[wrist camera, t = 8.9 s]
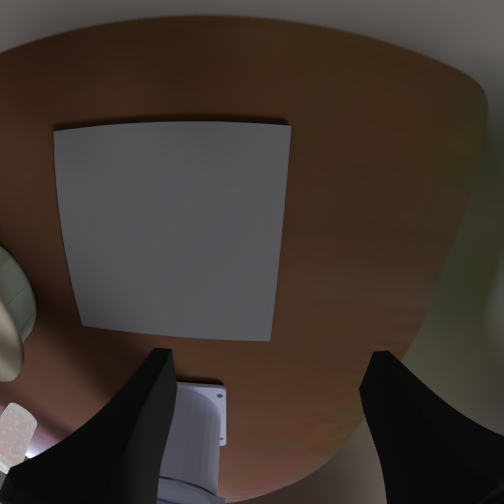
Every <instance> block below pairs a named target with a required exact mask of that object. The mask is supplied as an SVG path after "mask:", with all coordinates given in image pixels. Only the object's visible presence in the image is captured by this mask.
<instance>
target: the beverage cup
mask: <svg viewBox="0 0 504 504" xmlns="http://www.w3.org/2000/svg"><path fill="white" fill-rule="evenodd" d="M36 425H37V421H36V420H35V418H34V417H33V416H32V415H31V414H30V413H29V412H28V411H27V410H25V409H24V408H23V407H21V406H19V405H17V404H15V403H10V404H9V405H8V406H7V408H6V409H5V411H4V412H3V414H2V415H1V417H0V470H1V471H2V472H4V473H6V474H7V473H8V471H9V469H10V467H12V466H15V465H17V464H19V463H22V462H23V460H24V457H25V454H26V452H27V449H28V446H29V443H30V441H31V438H32V436H33V433H34V430H35V428H36Z"/></svg>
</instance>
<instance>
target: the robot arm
mask: <svg viewBox="0 0 504 504" xmlns="http://www.w3.org/2000/svg"><path fill="white" fill-rule="evenodd" d="M359 391H360V396H361V402H362V406H363V411H364V414H365V417H366V420H367V423H368V426H369V429H370V432H371V435H372V438H373V441H374V444H375V447H376V450H377V453H378V456H379V459H380V463H381V467H382V472H383V478H384V483H385V491H386V499H387V504H504V436H502V435H500V434H497V433H495V432H493V431H491V430H489V429H486V428H485V427H483V426H481V425H479V424H478V423H476V422H474V421H472V420H471V419H469V418H467V417H466V416H464V415H463V414H461V413H460V412H459V411H457V410H456V409H454V408H453V407H451V406H450V405H449V404H447V403H446V402H445V401H443V400H442V399H441V398H440V397H439V396H437V395H436V394H435V393H434V392H433V391H432V390H430V389H429V388H428V387H427V386H426V385H425V384H424V383H422V382H421V381H420V380H419V379H418V378H417V377H416V376H415V375H414V374H413V373H412V372H411V371H410V370H409V369H408V368H406V367H405V366H404V365H403V364H402V363H401V362H400V361H399V360H398V359H397V358H396V357H395V356H394V355H392V354H391V353H390V352H389V351H376V352H373V355H372V358H371V360H370V363H369V365H368V368H367V370H366V373H365V375H364V378H363V380H362V383H361V385H360V388H359ZM223 445H226V388H225V387H224V386H222V385H212V384H197V383H185V382H176V376H175V369H174V362H173V354H172V349H164V348H154V349H153V350H152V351H151V352H150V354H149V355H148V356H147V358H146V359H145V360H144V362H143V363H142V364H141V365H140V367H139V368H138V369H137V370H136V372H135V373H134V374H133V375H132V377H131V378H130V379H129V380H128V381H127V382H126V384H125V385H124V386H123V387H122V388H121V389H120V390H119V392H118V393H117V394H116V395H115V396H114V397H113V398H112V399H111V400H110V401H109V402H108V403H107V404H106V405H105V406H104V407H103V408H102V409H101V410H100V411H99V412H98V413H97V414H96V415H94V416H93V417H92V418H91V419H90V420H89V421H87V422H86V423H85V424H84V425H83V426H81V427H80V428H79V429H77V430H76V431H75V432H73V433H72V434H71V435H69V436H68V437H67V438H65V439H64V440H62V441H61V442H59V443H57V444H56V445H54V446H52V447H51V448H49V449H47V450H46V451H44V452H42V453H40V454H39V455H37V456H35V457H32V458H30V459H28V460H26V461H24V462H22V463H19V464H17V465H15V466H12V467H10V469H9V471H8V473H7V475H6V477H5V480H4V482H3V485H2V487H1V490H0V502H1V503H2V504H225V498H221V497H217V489H218V468H219V448H220V446H223Z"/></svg>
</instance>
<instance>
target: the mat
mask: <svg viewBox="0 0 504 504" xmlns="http://www.w3.org/2000/svg"><path fill="white" fill-rule="evenodd" d="M290 134H291V126H286V125H274V124H260V123H241V122H205V121H183V122H148V123H130V124H116V125H104V126H94V127H84V128H76V129H68V130H61V131H54V157H55V174H56V186H57V196H58V205H59V213H60V221H61V228H62V235H63V241H64V247H65V252H66V258H67V263H68V268H69V273H70V277H71V282H72V286H73V291H74V295H75V299H76V303H77V307H78V311H79V315H80V318H81V322H82V325H83V326H88V327H95V328H102V329H109V330H117V331H126V332H134V333H144V334H154V335H164V336H176V337H189V338H204V339H221V340H245V341H270V337H271V329H272V320H273V312H274V303H275V294H276V285H277V276H278V266H279V257H280V247H281V237H282V226H283V216H284V205H285V194H286V183H287V171H288V159H289V147H290Z"/></svg>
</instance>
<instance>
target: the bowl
mask: <svg viewBox="0 0 504 504" xmlns="http://www.w3.org/2000/svg"><path fill="white" fill-rule="evenodd" d="M0 295H1V296H2V298H3V300H4V301H5V303H6V305H7V307H8V309H9V310H10V312H11V314H12V316H13V319H14V321H15V323H16V325H17V328H18V330H19V333H20V336H21V339H22V343H23V341H24V340H25V339H26V337H27V336H28V335H29V333H30V332H31V331H32V329H33V324H34V322H35V320H36V314H37V307H36V300H35V296H34V293H33V290H32V287H31V285H30V283H29V280H28V278H27V277H26V275H25V273H24V271H23V270H22V268H21V267H20V265H19V264H18V262H17V261H16V260H15V259H14V258H13V256H12V255H11V254H10V253H9V252H8V251H6V250H5V249H4V248H3V247H1V246H0Z"/></svg>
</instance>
